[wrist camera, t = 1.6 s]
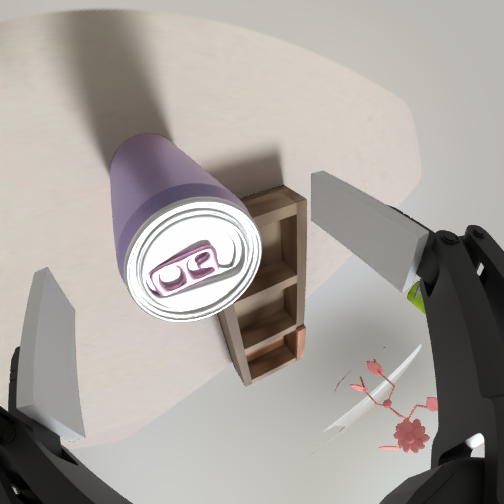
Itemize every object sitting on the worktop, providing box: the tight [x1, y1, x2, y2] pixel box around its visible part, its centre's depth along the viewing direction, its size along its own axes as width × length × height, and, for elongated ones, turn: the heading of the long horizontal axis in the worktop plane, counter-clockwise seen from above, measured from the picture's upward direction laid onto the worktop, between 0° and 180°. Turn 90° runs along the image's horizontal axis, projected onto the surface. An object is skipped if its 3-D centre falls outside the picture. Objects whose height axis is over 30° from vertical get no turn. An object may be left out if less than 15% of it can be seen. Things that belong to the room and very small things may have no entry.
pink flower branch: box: [338, 359, 438, 453], centre depth 66 cm, size 15×26×35 cm, turn 162°
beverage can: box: [110, 133, 262, 322], centre depth 16 cm, size 6×6×15 cm
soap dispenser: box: [407, 281, 426, 315], centre depth 58 cm, size 6×7×20 cm
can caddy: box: [218, 185, 307, 386], centre depth 35 cm, size 10×28×4 cm, turn 6°
